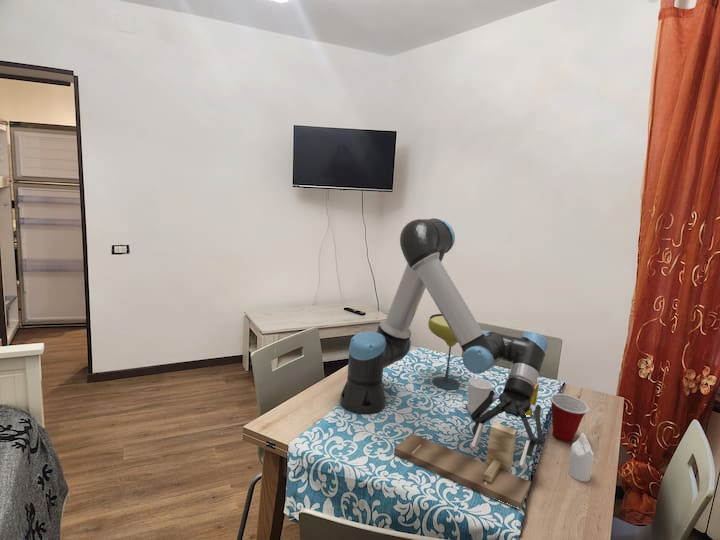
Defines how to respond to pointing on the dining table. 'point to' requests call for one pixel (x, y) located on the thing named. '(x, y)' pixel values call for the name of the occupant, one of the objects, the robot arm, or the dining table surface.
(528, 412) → the supplement box
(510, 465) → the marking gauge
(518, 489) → the walnut board
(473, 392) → the white cup
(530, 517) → the dining table surface
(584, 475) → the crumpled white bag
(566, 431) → the plastic cup
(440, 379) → the cocktail glass
